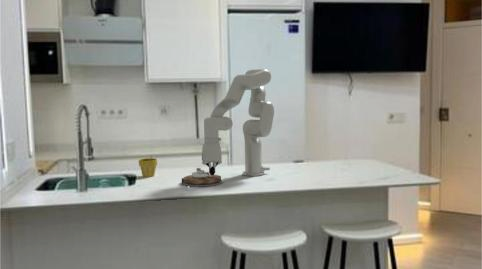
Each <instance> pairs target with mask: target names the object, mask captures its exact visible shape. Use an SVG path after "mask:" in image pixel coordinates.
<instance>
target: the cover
mask: <svg viewBox="0 0 482 269" xmlns="http://www.w3.org/2000/svg"><path fill="white" fill-rule="evenodd" d="M191 175H192V179H207V178H209V171H205V170H203V169H201V170H197V169H196V171H193V172H192V173H191Z"/></svg>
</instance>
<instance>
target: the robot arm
mask: <svg viewBox="0 0 482 269" xmlns="http://www.w3.org/2000/svg"><path fill="white" fill-rule="evenodd" d="M271 80H272V74H271V72H270V71H269V70H268V69H264V68H262V69H250V70H247V71H246V72H245V73H244V74H237V75H236V76H234V77H233V79H232V82H231V84H230V86H229V89H228V90H227V92H226V95H225V96H224V98H222V100H221V101H220V102H219V103H218V104H217V105H216V106H215V107H214V108H213V110H212V112H211V114H210V116H209V117H205V118H204V120H203V136H204V138H203V139H204V141H203V142H202V147H201V164H202V165H204V166H207V167H208V172H209V174H210V175H215V174H216V168H217V166H218V165H220V164H223V161H222V159H223V158H222V155H223V154H222V149H221V148H222V146H221V141H222V138H221V137H219V131H225V132H226V131H229V130H231V129H232V127H233V120H232V118H230V117H228V116H224V115H225V114H226V113H227V112H228V111H229V110H232V109H233V108H235V107H237V106H238V105H239V104H240V103H241V101H242V99H243V97H244V94H245V91H250V98H249V104H248V115H249V116H250V117H251V118H255V119H247V120H246V121H245V122H244V123H243V124H242V133H243V138H244V168H245V171H242V175H243V176H247V177H259V176H263V175H265V172H266V171H270V170H271V167H269V166H263V164H262V141H261V139H260V138H267V137H268V136H269V135H270V134H271V132H272V128H273V123H274V122H273V121H274V116H275V107H274V105H273V103H272V102H271V101H268V100H267V101H266V96H267V92H266V88H265V86H266V85H268V84H269V83H270V82H271ZM258 118H259V119H258Z"/></svg>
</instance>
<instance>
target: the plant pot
mask: <svg viewBox="0 0 482 269" xmlns="http://www.w3.org/2000/svg"><path fill="white" fill-rule="evenodd" d="M138 165H139V167H140V170H141V175H142V177H143V178H151V177H152V178H153V177H154V176H155V174H156V169H157V166H158V159H157V158H156V157H155V158H152V157H149V158H148V157H146V158H140V159H139V160H138Z"/></svg>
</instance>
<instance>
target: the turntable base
mask: <svg viewBox="0 0 482 269" xmlns="http://www.w3.org/2000/svg"><path fill="white" fill-rule="evenodd" d="M183 178H184V177H182V178H181V185H182V186H184V185H185V187H188V186H190V187H189V188H208V187H209V188H210V187H216V186H220V185H222V184H223V183H224V180H223V179H222V178H221V181H220V182H218V183H214V184H204V185H194V184H187V183H184V180H183Z"/></svg>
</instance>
